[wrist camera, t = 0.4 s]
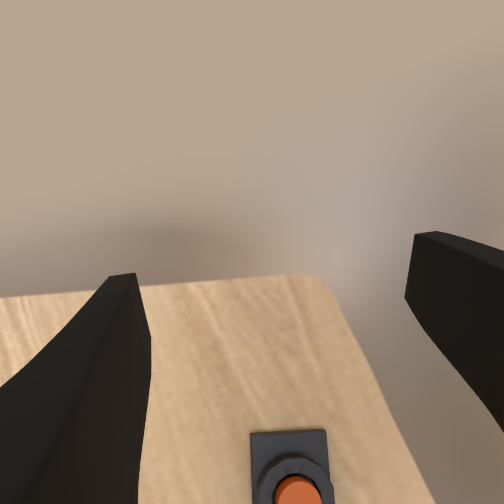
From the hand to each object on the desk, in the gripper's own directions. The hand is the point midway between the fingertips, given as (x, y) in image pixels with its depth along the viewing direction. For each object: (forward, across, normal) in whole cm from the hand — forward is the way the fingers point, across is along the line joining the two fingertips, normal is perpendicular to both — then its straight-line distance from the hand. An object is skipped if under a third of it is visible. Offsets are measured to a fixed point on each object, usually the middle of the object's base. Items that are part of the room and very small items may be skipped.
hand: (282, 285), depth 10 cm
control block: (+12, -3, +31) cm, 33 cm away
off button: (+10, -3, +29) cm, 31 cm away
